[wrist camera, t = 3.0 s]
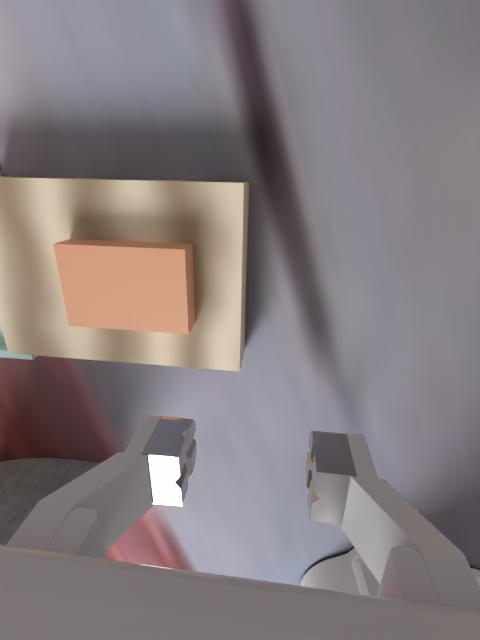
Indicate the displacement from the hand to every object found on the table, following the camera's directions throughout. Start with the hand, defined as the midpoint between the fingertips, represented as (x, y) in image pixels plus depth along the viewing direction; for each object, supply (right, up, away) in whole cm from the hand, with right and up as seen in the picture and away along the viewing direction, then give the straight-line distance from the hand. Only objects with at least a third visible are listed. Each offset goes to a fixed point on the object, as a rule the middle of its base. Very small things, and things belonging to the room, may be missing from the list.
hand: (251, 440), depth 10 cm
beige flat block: (-10, +8, +19) cm, 23 cm away
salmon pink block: (-8, +7, +15) cm, 18 cm away
